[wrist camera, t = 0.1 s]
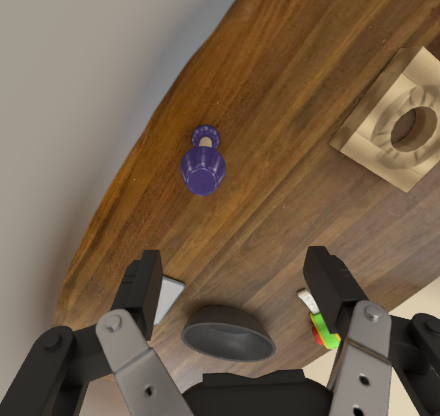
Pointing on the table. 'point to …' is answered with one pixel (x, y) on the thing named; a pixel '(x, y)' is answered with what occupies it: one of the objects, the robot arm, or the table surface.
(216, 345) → the bowl
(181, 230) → the table surface
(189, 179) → the toy lamp
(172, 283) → the smartphone
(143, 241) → the table surface
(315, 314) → the toy measuring tape
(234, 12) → the table surface
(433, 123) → the socket base
